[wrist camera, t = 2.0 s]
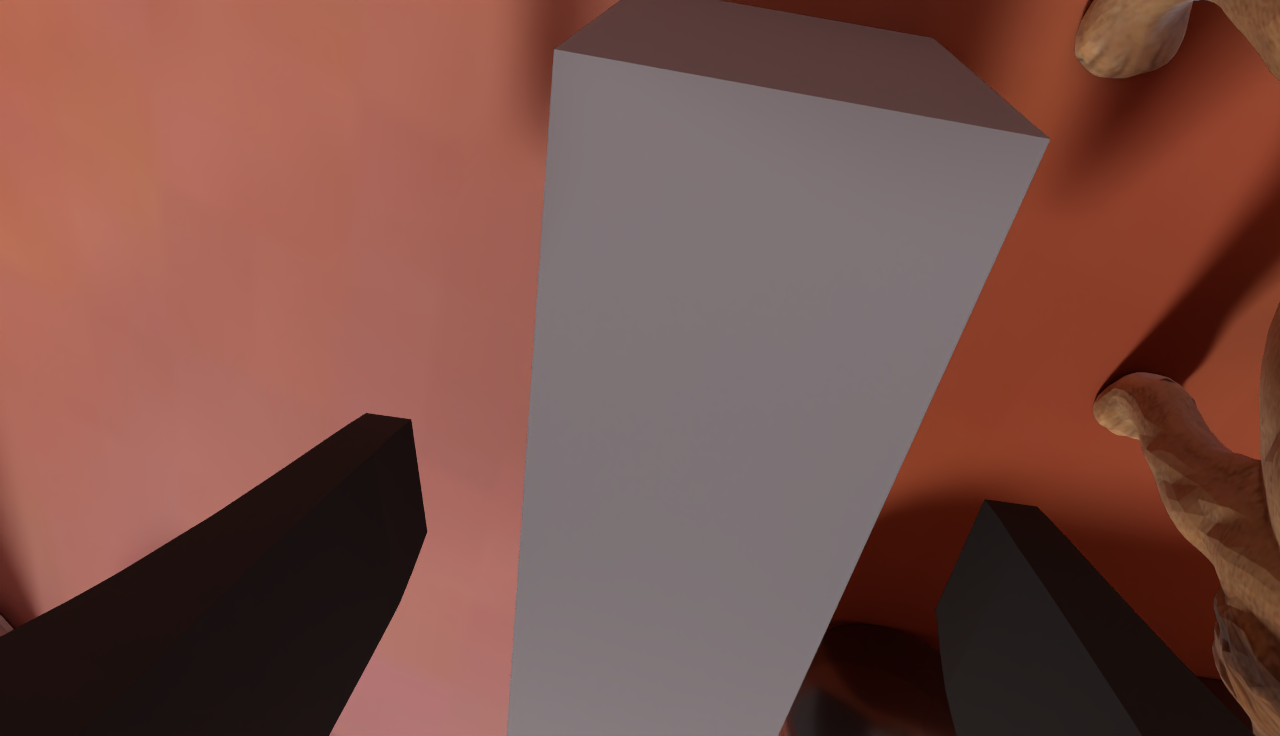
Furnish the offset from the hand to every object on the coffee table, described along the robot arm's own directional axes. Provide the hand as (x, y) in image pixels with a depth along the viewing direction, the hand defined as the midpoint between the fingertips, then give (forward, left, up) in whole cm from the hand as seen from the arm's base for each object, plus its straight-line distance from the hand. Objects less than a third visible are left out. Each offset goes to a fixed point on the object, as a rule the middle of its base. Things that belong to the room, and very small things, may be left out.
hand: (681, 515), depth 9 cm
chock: (0, 0, -4) cm, 4 cm away
